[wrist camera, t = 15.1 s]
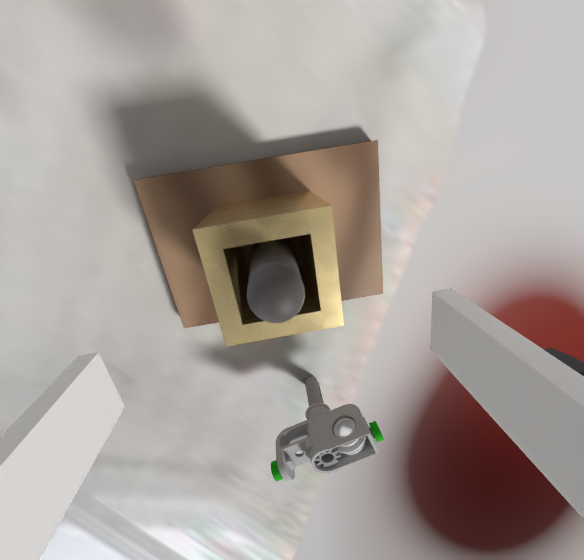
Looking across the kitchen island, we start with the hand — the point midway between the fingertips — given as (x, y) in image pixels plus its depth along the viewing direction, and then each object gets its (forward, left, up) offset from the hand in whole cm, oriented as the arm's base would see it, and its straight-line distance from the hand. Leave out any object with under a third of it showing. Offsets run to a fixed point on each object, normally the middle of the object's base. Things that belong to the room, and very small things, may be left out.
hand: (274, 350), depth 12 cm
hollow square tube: (0, 0, -16) cm, 16 cm away
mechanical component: (+2, -18, -18) cm, 25 cm away
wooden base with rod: (0, 0, -18) cm, 18 cm away
